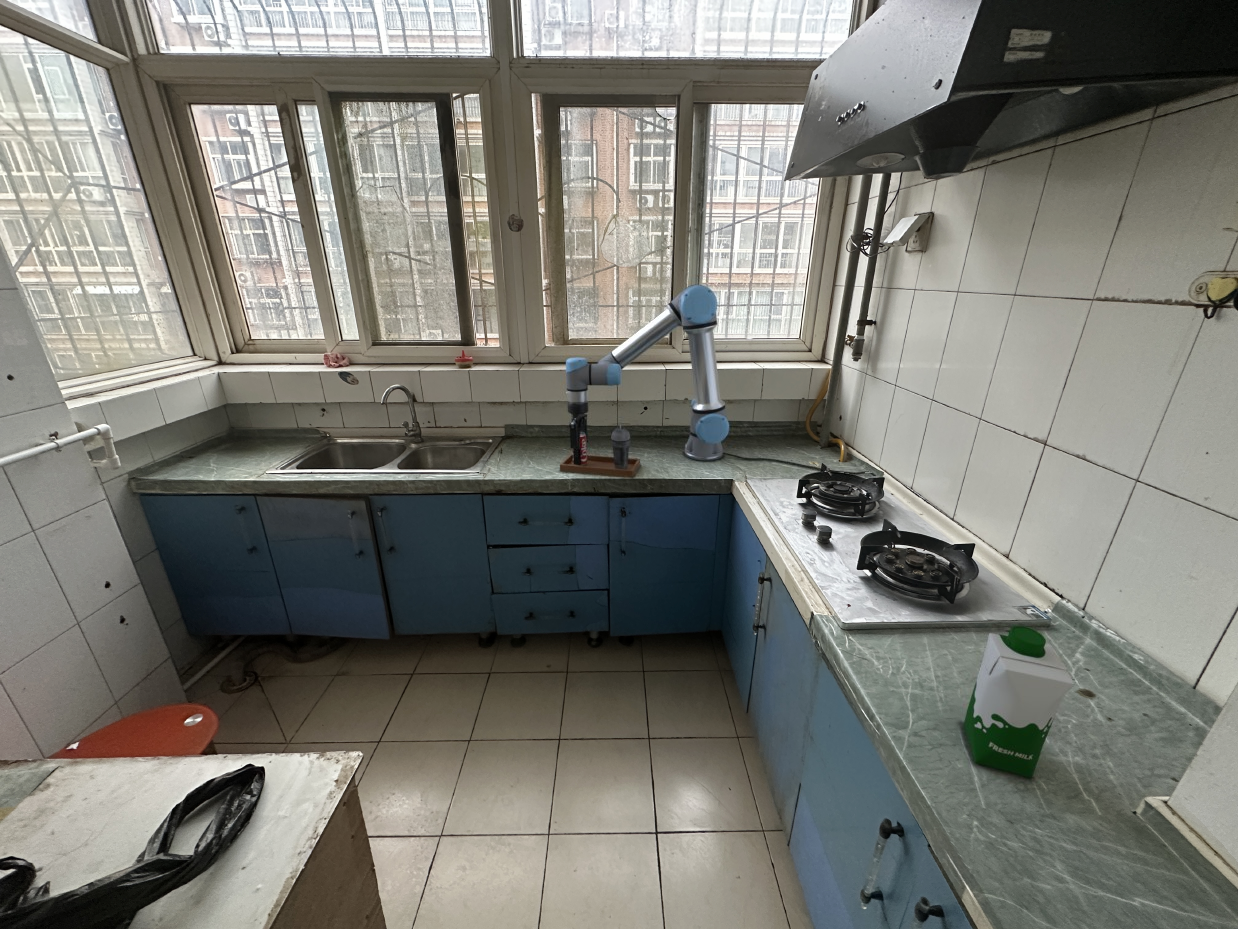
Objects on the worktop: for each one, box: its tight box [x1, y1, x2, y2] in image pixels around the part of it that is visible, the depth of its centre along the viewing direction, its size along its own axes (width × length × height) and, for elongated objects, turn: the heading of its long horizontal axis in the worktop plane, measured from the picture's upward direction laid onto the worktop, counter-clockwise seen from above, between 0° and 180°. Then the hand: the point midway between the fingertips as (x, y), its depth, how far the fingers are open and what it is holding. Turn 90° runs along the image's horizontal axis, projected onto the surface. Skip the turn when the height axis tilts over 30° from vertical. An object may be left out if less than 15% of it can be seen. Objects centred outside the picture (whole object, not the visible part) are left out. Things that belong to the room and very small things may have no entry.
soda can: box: [573, 432, 588, 466], centre depth 186 cm, size 5×5×12 cm
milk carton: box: [963, 625, 1075, 779], centre depth 72 cm, size 9×9×20 cm
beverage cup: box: [610, 416, 631, 470], centre depth 181 cm, size 7×7×20 cm
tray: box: [559, 452, 641, 478], centre depth 186 cm, size 28×13×3 cm, turn 75°
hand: (580, 461), depth 188 cm, fingers closed on soda can, 5 cm apart
